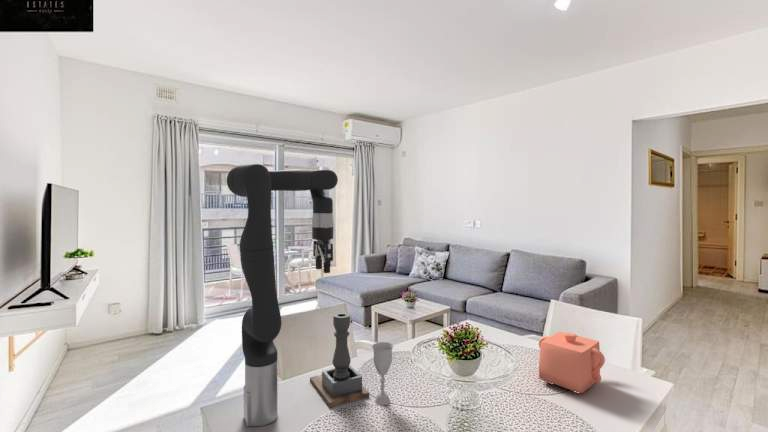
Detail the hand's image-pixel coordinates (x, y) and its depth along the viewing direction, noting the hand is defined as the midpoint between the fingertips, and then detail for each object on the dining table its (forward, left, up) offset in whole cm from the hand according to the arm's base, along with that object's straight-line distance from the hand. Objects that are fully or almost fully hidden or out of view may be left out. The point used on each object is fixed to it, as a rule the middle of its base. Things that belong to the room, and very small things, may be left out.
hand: (322, 271), depth 136 cm
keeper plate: (+3, -8, -40) cm, 41 cm away
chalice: (+13, -22, -40) cm, 48 cm away
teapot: (+82, -42, -40) cm, 101 cm away
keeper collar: (+3, -11, -39) cm, 40 cm away
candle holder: (+3, -11, -39) cm, 40 cm away
